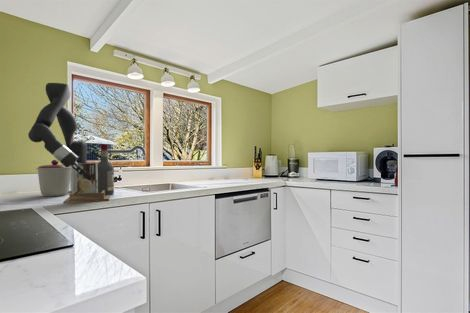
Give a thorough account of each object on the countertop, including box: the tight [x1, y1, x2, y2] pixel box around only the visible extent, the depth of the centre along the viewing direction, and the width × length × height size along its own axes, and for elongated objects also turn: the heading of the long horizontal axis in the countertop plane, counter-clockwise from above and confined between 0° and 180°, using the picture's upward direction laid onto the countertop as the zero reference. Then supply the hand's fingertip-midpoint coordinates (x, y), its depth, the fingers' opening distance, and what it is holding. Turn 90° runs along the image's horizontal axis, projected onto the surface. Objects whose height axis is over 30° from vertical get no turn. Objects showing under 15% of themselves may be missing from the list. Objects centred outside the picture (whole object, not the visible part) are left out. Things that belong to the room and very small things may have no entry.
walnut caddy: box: [63, 190, 111, 204], centre depth 146 cm, size 16×20×4 cm
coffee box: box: [77, 162, 99, 194], centre depth 146 cm, size 9×6×16 cm
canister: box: [35, 159, 72, 197], centre depth 164 cm, size 18×18×21 cm
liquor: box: [98, 143, 115, 196], centre depth 165 cm, size 9×9×30 cm
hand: (91, 178), depth 146 cm, fingers closed on coffee box, 7 cm apart
